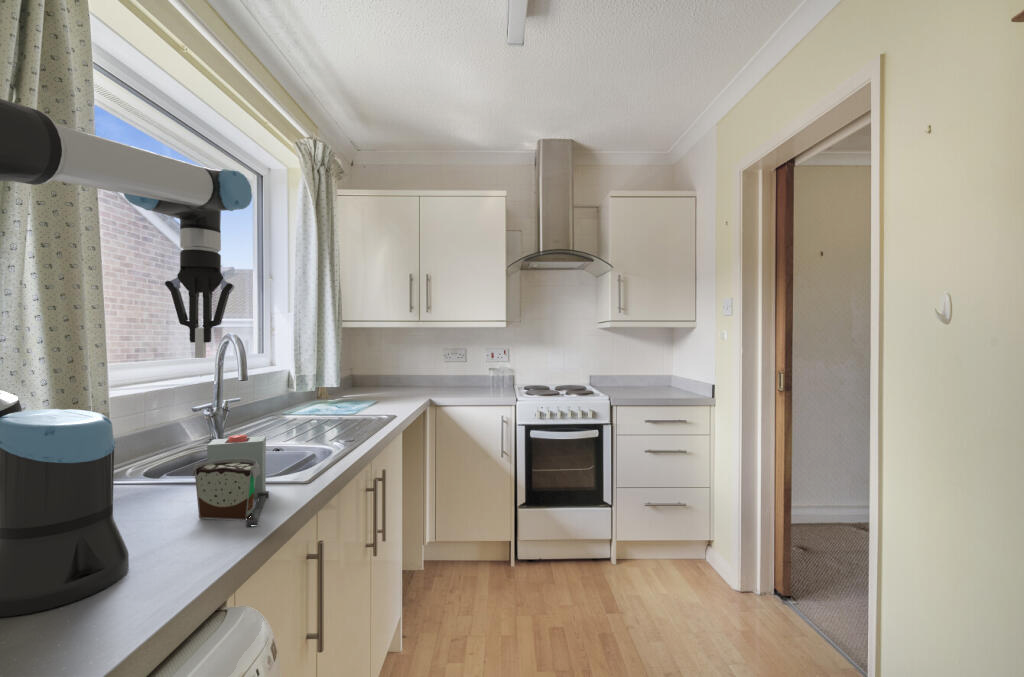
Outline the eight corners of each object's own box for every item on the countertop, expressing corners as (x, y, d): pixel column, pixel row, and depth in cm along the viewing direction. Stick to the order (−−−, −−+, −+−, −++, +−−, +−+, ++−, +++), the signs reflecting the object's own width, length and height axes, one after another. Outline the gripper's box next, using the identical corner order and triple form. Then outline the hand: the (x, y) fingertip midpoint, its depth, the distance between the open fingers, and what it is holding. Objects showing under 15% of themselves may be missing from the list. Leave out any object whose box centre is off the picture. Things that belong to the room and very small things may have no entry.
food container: (273, 508, 93) (273, 458, 93) (253, 520, 87) (254, 466, 87) (215, 506, 94) (215, 456, 94) (191, 518, 88) (191, 464, 88)
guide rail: (246, 527, 84) (246, 520, 84) (259, 497, 99) (259, 491, 99) (257, 525, 84) (257, 519, 84) (268, 496, 100) (268, 490, 100)
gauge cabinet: (206, 504, 95) (206, 445, 95) (213, 495, 100) (213, 439, 100) (262, 498, 98) (262, 441, 98) (265, 490, 104) (265, 436, 104)
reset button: (227, 450, 97) (227, 438, 97) (230, 446, 101) (230, 435, 101) (245, 448, 99) (245, 437, 99) (248, 445, 102) (248, 434, 102)
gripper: (237, 256, 110) (237, 356, 110) (171, 252, 105) (170, 357, 105) (231, 250, 103) (231, 357, 103) (159, 246, 98) (159, 358, 98)
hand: (200, 357), depth 104 cm, fingers closed
